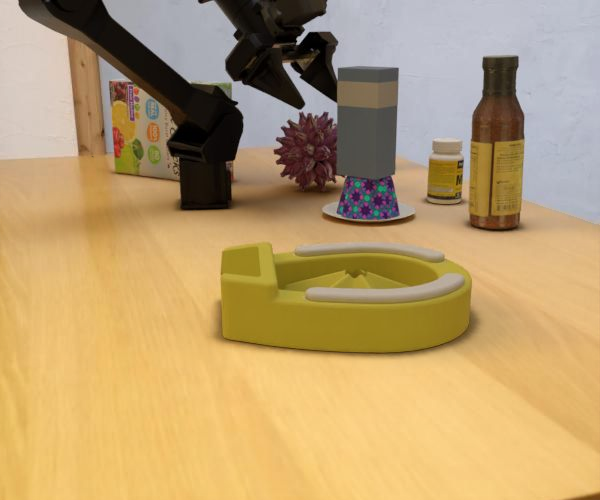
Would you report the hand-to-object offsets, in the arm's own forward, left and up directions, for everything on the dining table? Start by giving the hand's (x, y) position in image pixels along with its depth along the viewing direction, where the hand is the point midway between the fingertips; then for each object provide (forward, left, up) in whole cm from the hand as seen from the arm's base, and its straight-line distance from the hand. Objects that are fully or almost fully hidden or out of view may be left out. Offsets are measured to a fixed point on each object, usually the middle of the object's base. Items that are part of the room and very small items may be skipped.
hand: (322, 104), depth 101 cm
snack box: (-21, +25, -14) cm, 35 cm away
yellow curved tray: (-4, -41, -14) cm, 43 cm away
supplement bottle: (+17, +2, -14) cm, 22 cm away
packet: (+5, -5, -8) cm, 11 cm away
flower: (0, +12, -14) cm, 19 cm away
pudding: (+5, -5, -14) cm, 15 cm away
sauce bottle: (+19, -12, -14) cm, 26 cm away
